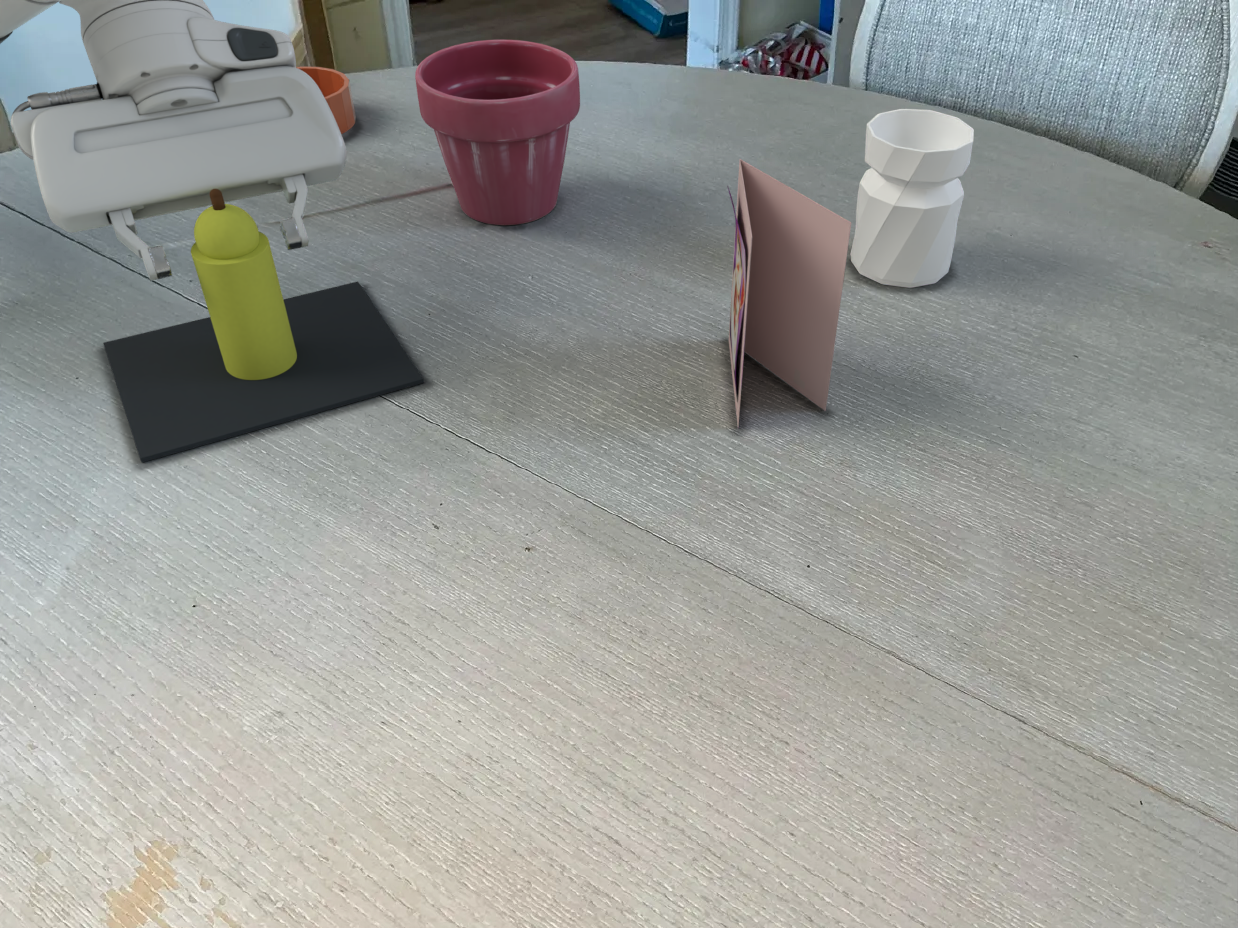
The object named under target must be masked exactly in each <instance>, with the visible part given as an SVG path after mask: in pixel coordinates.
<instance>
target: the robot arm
mask: <svg viewBox="0 0 1238 928" xmlns="http://www.w3.org/2000/svg"><path fill="white" fill-rule="evenodd" d="M58 3H59V4H60V5H63V6H66V7H70V8H71V9H73V10H75V11H76V13H78V15H79V19H80V36H81V40H82V44H83V46H84V50H85V52H86V55H87V59H88V60H89V64H90V66H91V69H92V72H93V75H94V78H95V80H96V83H94V84H88V85H80V86H75V87H70V88H66V89H64V90H60V91H53V92H48V91H43V92H36V93H33V94H30V95H27V96H26V99H27V101H24V102H22V103H20V104H18V105H17V106H16V108H15V109H14V110H13V112H12V113H11V117H10V127H11V130H12V133H13V135H14V139H15V140H16V144H17V146H18V148H19V150H20V151H21V152H22V154H23V155H25V156H26V157H27V158H29V159H30V160H33V165H34V170H35V175H36V179H37V183H38V186H39V191H40V193H41V197H42V201H43V203H44V204H43V205H44V206H45V209H46V212H47V215H48V217H49V219H50V221H51V222H52V223H53V224H54V226H56V227H58V228H59V229H61V230H63V231H65V232H66V233H69V234H75V233H79V232H85V231H90V230H94V229H101V228H105V227H110V226H112V228H113V231H114V234H115V236H116V238H117V241H118V242H119V243H121V244H122V245H124V246H125V247H126V248H127V249H128V250H129V251H130V252H132V253H133V254H134V255H135V256H137V258H139V259H141V260H142V262H143V265H144V267H145V270H146V273H147V276H148V278H149V280H150V282H152V281H158V280H161V279H162V280H163V279H167V278H170V277H173V272H172V269H171V266H170V262H169V261H168V259H167V254H166V251H165V249H164V246H163V245H158V246H153V247H150V246H149V245H148V244H147V243H146V242H145V241H144V240H142V239H141V237H139V236H138V234H139V232H138V229H137V224H136V222H135V221H140V220H145V219H149V218H155V217H161V216H165V215H170V214H174V213H180V212H185V211H189V210H195V209H199V208H206V207H211V206H212V202H211V199H210V195H209V193H210V191H211V190H212V189H219V190H220V191H221V192H222V195H223V199H224V203H225V204H226V203H230V202H235V201H239V200H244V199H250V198H254V197H259V196H260V197H261V196H264V195H265V196H266V195H270V194H274V193H280V192H283V194H284V198H285V200H286V203H288V204H294V206H293V210H292V215H291V217H290V218H286V219H281V220H280V223H279V224H280V226H279V231H280V234H281V236H282V239H284V244H285V248H286V250H287V251H291V250H292V251H293V250H296V249H297V250H298V249H301V248H306V247H309V243H310V241H309V236H308V233H307V230H306V227H305V224H304V221H303V220H304V219H303V218H304V214H305V209H306V205H307V201H308V193H309V188H308V187H309V186H315V185H320V184H324V183H325V184H326V183H330V182H334V181H336V180H339V178H340V177H341V175H342V173H343V171H344V169H345V166H346V163H347V158H348V151H347V146H346V143H345V140H344V137H343V134H341V132H340V130H339V127H338V125H337V123H336V120H335V118H334V116H333V114H332V112H331V110H330V107H329V105H328V103H327V102H326V100H325V98H324V96H323V94H322V92H321V90H320V89H319V87H318V86H317V84H316V83H315V81H314V80H313V79H312V78H311V77H310V76H309V75H308V74H307V73H305V72H304V71H302V70H300V69H298V68H296V67H297V60H296V59H297V58H296V54H295V53H296V52H295V48H294V44H293V42H292V39H291V38H290V36H289V35H288V34H287V33H285V32H283V31H280V30H276V29H270V28H262V27H255V26H249V25H242V24H235V23H230V22H226V21H220V20H216V19H215V17H214V15H213V13H212V11H211V10H210V8H209V7H208V5H207V3H206V2H205V1H204V0H0V45H1V44H2V43H3V42H5V41H6V40H7V39H8V38H9V37H10V36H11V35H12V34H13V32H14V31H15V30H17V29H19V28H20V27H21V26H23V25H24V24H27V23H28V22H29V21H31V20H33V19H34V18H35V17H37V16H38V15H40V14H42V13H44V12H45V11H46V10H48V9H50V8H52V7H53V6H55V5H56V4H58Z"/></svg>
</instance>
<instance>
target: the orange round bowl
mask: <svg viewBox="0 0 1238 928" xmlns="http://www.w3.org/2000/svg"><path fill="white" fill-rule="evenodd" d="M296 68H298V69H300V70H302V71H304V72H305V73H307V74H308V75H309V76H310V77H311V78H312V79H313V80H314V81H315V83H316V84H317V86H318V87H319V89H320V90H321V92H322V94H323V96H324V98H325V100H326V102H327V103H328V105H329V107H330V110H331V112H332V114H333V116H334V118H335V120H336V123H337V125H338V127H339V130H340V132H341V135H344V133H347V132H348V131H349V130H351V129H353V127H354V125H355V124H356V118H357V115H356V110H355V105H354V99H353V93H352V88H351V81H350V79H349V77H348V76H347V75H346V74H345V73H344V72H341V71H339V70H336V69H334V68H328V67H322V66H296Z"/></svg>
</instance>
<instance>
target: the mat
mask: <svg viewBox="0 0 1238 928" xmlns="http://www.w3.org/2000/svg"><path fill="white" fill-rule="evenodd" d="M283 300H284V304H285V308H286V312H287V316H288V320H289V324H290V328H291V332H292V336H293V340H294V344H295V348H296V352H297V359H296V361H295V363H294V364H293V366H292V367H291V368H290V369H288V370H287V371H285V372H284V373H282V374H280V375H277V376H274V377H271V378H267V379H262V380H244V379H239V378H236V377H234V376H232V375H231V374H229V372H228V371H227V370H226V367H225V364H224V361H223V357H222V354H221V351H220V347H219V344H218V341H217V338H216V334H215V331H214V328H213V324H212V321H211V318H210V316H207V317H205V318H200V319H196V320H191V321H187V322H183V323H179V324H175V325H171V326H167V327H162V328H159V329H154V330H150V331H146V332H142V333H138V334H133V335H129V336H126V337H121V338H117V339H113V340H108V341H105V342H102V344H103V347H104V350H105V353H106V357H107V359H108V362H109V366H110V369H111V373H112V375H113V378H114V381H115V385H116V388H117V392H118V394H119V397H120V401H121V403H122V407H123V409H124V413H125V416H126V419H127V422H128V425H129V429H130V431H131V435H132V438H133V441H134V445H135V448H136V450H137V453H138V458H139V460H140V462H141V463H146V462H149V461H154V460H157V459H159V458H163V457H167V456H170V455H174V454H177V453H181V452H185V451H188V450H191V449H195V448H199V447H203V446H206V445H209V444H213V443H217V442H219V441H224V440H228V439H231V438H234V437H237V436H241V435H246V434H248V433H251V432H252V433H253V432H255V431H259V430H262V429H266V428H270V427H273V426H276V425H277V426H278V425H280V424H283V423H287V422H291V421H294V420H299V419H301V418H304V417H308V416H312V415H315V414H319V413H323V412H326V411H329V410H334V409H337V408H341V407H344V406H348V405H351V404H354V403H358V402H363V401H365V400H368V399H371V398H372V399H373V398H376V397H378V396H383V395H385V394H390V393H394V392H397V391H400V390H404V389H408V388H411V387H415V386H419V385H422V384H424V383H425V380H424V376H422V374H421V372H419V370H418V369H417V367H416V365H415V364H414V362H413V361H412V359H411V358H410V357H409V355H408V354H407V352H406V351H405V349H404V348H403V346H402V345H401V343H400V342H399V340H398V339H397V337H396V335H395V334H394V332H393V331H392V330H391V329H390V327H389V326H388V323H387V322H386V320H385V319H384V318H383V316H382V315H381V314H380V312H379V310H378V309H377V307H376V306H375V305H374V303H373V302H372V300H371V299H370V297H369V296H368V294H367V293H366V291H365V289H364V288H363V286H362V285H361V284H360V281H353V282H350V283H346V284H341V285H336V286H333V287H329V288H324V289H320V290H316V291H312V292H308V293H304V294H299V295H295V296H291V297H287V298H283Z"/></svg>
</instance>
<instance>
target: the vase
mask: <svg viewBox="0 0 1238 928" xmlns="http://www.w3.org/2000/svg"><path fill="white" fill-rule="evenodd" d="M974 133H975V130H974V128H973V127H972V126H970V125H969V124H968V123H966V122H965V121H963V119H961V118H959V117H957V116H954V115H950V114H947V113H943V112H939V111H936V110H932V109H917V108H916V109H915V108H899V109H894V110H889V111H883V112H879V113H877V114H876V115H875V116H873V118H871V119H870V120H869V121H868V122H867V123H866V131H865V144H864V145H865V146H864V147H865V149H864V163H866V164H867V165H868V166H869V167H870V168H868V169H866V170H865V172H864V174H863V176H862V178H861V179H860V181H859V185H858V190H857V191H858V192H857V199H856V211H855V228H854V236H853V241H852V244H851V249H850V254H849V256H850V261H851V263H852V265H853V266H854V268H855V269H856V270H857V271H858V273H859V275H861V276H864V277H866V278H868V279H870V280H872V281H874V282H877V283H878V284H880V285H885V286H891V287H892V286H894V287H899V288H909V289H911V288H918V287H923V286H929V285H934V284H936V283H937V282H939V281H940V280H941V279H942V278H943V277H945V276H946V275H947V274H948V273H949V271H950V267H951V262H952V257H953V253H954V247H955V243H956V235H957V228H958V220H959V216H960V213H961V209H962V205H963V202H964V201H963V200H964V197H965V191H964V188H963V185H962V182H961V180H960V179H959V178H960V177H962V176H964V174H965V172H966V171H967V169H968V167H969V166H970V164H971V159H972V150H973V144H974V137H975V135H974Z"/></svg>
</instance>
